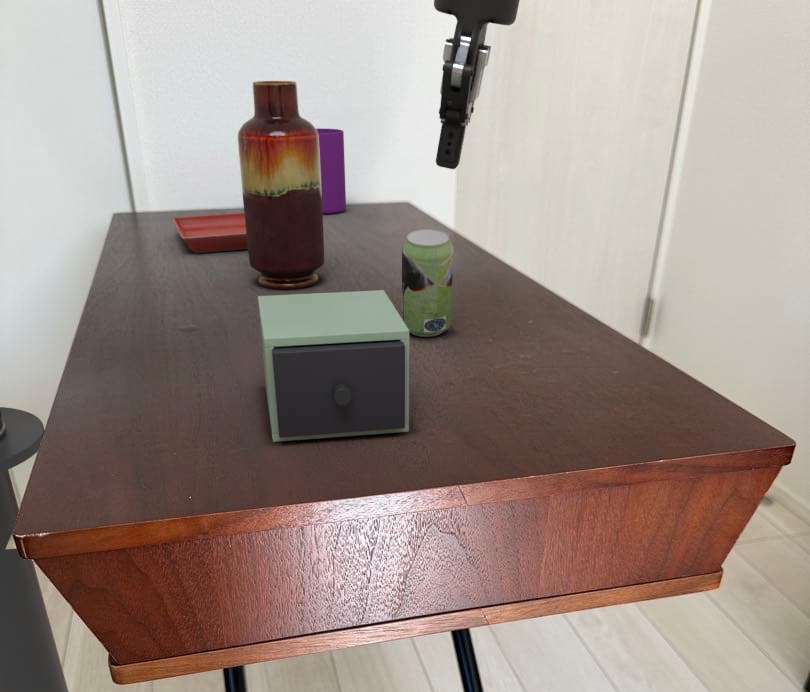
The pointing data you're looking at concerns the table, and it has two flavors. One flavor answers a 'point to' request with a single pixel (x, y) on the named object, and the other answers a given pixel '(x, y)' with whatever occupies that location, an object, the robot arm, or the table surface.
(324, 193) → the mug
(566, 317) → the table surface
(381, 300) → the cabinet
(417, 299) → the beverage can
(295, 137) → the vase
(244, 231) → the plant saucer
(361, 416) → the drawer
